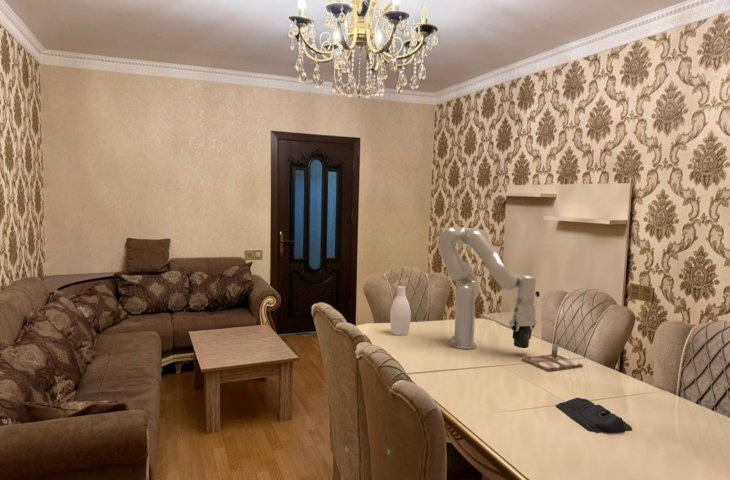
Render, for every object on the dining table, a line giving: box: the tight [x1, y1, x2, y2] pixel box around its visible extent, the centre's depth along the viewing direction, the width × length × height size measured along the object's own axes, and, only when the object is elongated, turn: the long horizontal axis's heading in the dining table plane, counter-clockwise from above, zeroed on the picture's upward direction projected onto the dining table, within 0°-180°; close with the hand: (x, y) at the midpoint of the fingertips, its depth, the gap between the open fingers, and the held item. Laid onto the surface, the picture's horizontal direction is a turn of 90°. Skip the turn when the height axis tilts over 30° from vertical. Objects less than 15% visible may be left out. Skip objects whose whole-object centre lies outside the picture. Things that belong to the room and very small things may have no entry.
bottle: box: [389, 285, 412, 337], centre depth 258 cm, size 11×11×25 cm
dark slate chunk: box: [555, 397, 633, 434], centre depth 159 cm, size 15×22×5 cm
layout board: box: [521, 343, 583, 372], centre depth 215 cm, size 20×16×7 cm
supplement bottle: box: [513, 326, 530, 349], centre depth 227 cm, size 7×7×12 cm
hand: (521, 338), depth 227 cm, fingers closed on supplement bottle, 6 cm apart
